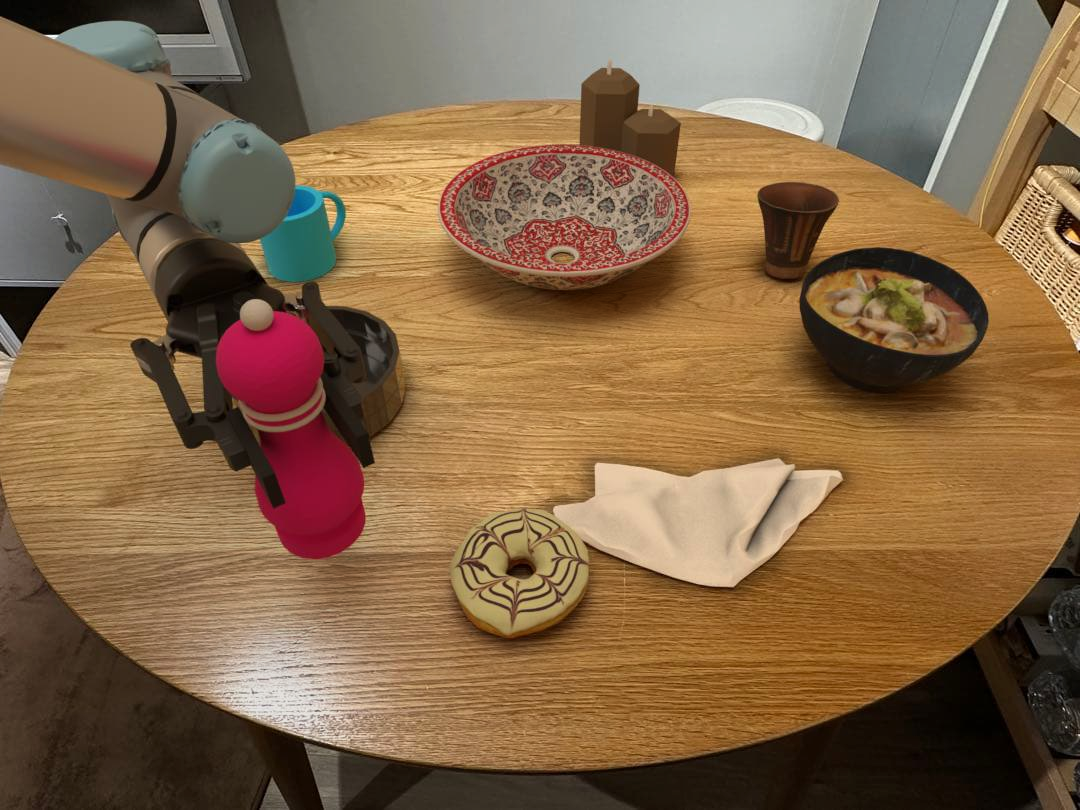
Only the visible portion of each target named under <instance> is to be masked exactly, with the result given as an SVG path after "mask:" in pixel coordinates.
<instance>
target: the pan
mask: <svg viewBox="0 0 1080 810" xmlns="http://www.w3.org/2000/svg"><path fill="white" fill-rule="evenodd" d="M326 307H327V308H328V309H329V310H330V311H331V313H332V314H333V315H334V316H335V318H336V319H337V320H338V321H339V323H340V324H341V325H342V326H343V327H344V329H345V330H346V331H347V332H348V334H349V335H350V336H351V337H352V339H353V340H354V341H355V342H356V343H357V345H358V346H359V347H360V349H361V353H362V358H363V363H364V368H365V373H366V379H365V380H364V381H363V382H361V383H352V385H353V386H354V388H355V389H356V390H357V392H358V393H359V395H360V396H361V399H362V404H363V408H364V414H365V418H364V419H361V420H360V422H361V423H362V425H363V426H364V427H365V429H366V430H367V432H368V434H369V439H371V437H372V436H374V435H375V434H377V432H379V431H380V430H382V429H383V428H384V427H386V426H387V425H388V424H389V423H390V422H391V421H392V419H393V418H394V417H395V415H396V414H397V412H398V411H399V410H400V408H401V407H402V405H403V400H404V396H405V392H406V388H407V386H406V380H405V374H404V368H403V363H402V362H403V361H402V355H401V351H400V346H399V342H398V338H397V334H396V332H394V330H393V329H392V327H390V325H388V324H387V322H386V321H385V320H383V319H382V318H380V317H378V316H376V315H374V314H373V313H371V312H369V311H367V310H363V309H360V308H359V309H358V308H354V307H350V306H346V305H326ZM288 314H291V315H293V316H296V315H295V314H294V313H291V312H288ZM296 317H297V316H296ZM308 325H309V323H308ZM309 326H310V325H309ZM320 344H321V343H320ZM321 346H322V349H323V351H324V352H325V353H327V354H328V355H329V353H328V352H327V351H326V349H325V348H324V347H323V345H322V344H321ZM232 401H233V409H234V408H236V407H239V409H240V411H241V412H242V409H241V407H240V405H239V401H238V399H237V398H236V397H234V396H233V395H232ZM242 414H243V412H242ZM322 414H323V416H324V419H325V421H326V424H327V425H328V427H329V429H330V430H331V431H332V432H333V433H334V434H335V435H336V436H337V437H338V438H339V439H340V440H342V441H343V442H344V443H345V444H346V445H347V446H348V447H349V445H348V444H347V442H346V441H345V439H344V438H343V436H342V435H341V433H340V432H339V430H338V429H337V427H336V426H335V424H334V423H333V421H332V420H331V418H330V417H329V415H328V414H327V412H326V411H325V409H324V408H323V409H322ZM247 423H248V422H247ZM248 425H249V427H250V429H251V430H252V432H253V434H254V436H255V438H256V440H257V441H258V443H259V445H260V437H259V433H258V429H256V428H254V427H252V426H251V425H250V424H249V423H248ZM349 448H350V447H349Z"/></svg>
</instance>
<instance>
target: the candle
mask: <svg viewBox="0 0 1080 810" xmlns="http://www.w3.org/2000/svg"><path fill="white" fill-rule="evenodd" d="M612 65H613V59H612V57H610V58H608V61H607V66H606V67H601V68H599V69H597V70H596V71H594V72H592V73H591V74H590V75H589V76H588V77H587V78H585V80H584V81H583V82H581V85H580V86H581V87H580V88H581V89H580V113H579V114H580V117H579V143H578V145H582V146H592V147H600V148H605V149H610V150H615V151H619V152H623V153H626V154H630V155H633V156H636V157H638V158H641V159H643V160H646V161H648V162H650V163H652V164H654V165H656V166H658V167H659V168H661V169H663V170H664V171H666V172H667V173H668V174H670V175H671V176H672V177H673V178H675V173H676V164H677V156H678V149H679V140H680V133H681V125H682V123H681V122H680V120H678V119H676V118H675V117H674V116H672V115H670V114H669V113H667V112H666V111H664V110H663V109H661V108H654V105H650V106H649V108H641V109H638V108H639V98H640V97H639V96H640V88H641V87H640V83H639V82H638V81H637V79H636V78H634V76H633V75H631V74H630V73H628V72H627V71H625V70H624V69H623V68H621V67H612Z"/></svg>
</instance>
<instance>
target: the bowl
mask: <svg viewBox="0 0 1080 810" xmlns="http://www.w3.org/2000/svg"><path fill="white" fill-rule="evenodd" d="M798 300H799V301H798V302H799V303H798V304H799V312H800V313H799V314H800V318H801V322H802V327H803V329H804V331H805V332H806V335H807V337H808V339H809V340H810V342H811V344H812V345H813V347H814V348H815V349H816V350H817V352H818V353H819V354H820V356H821V357H822V358H823V359H824V360H825V363H826V364H827V367H828V369H829V371H830V372H831V373H832V374H833V375H834V376H835V377H836V378H837V379H839V380H840V381H842V382H843V383H845V384H847V385H849V386H851V387H852V388H854V389H858V390H861V391H865V392H872V393H891V392H894V391H898V390H900V389H902V388H903V387H905V386H909V385H910V386H911V385H915V384H916V385H918V384H921V383H924V382H927V381H930V380H933V379H936V378H938V377H941V376H943V375H945V374H948V373H949V372H951V371H953V370H954V369H956V368H957V367H959V366H961V364H963V363H964V362H965V361H967V360H968V358H970V357H972V355H973V354H974V353H975V352H976V350H977V348H978V347H979V346H980V345H981V343H982V342H983V340H984V338H985V335H986V334H987V332H988V329H989V328H988V327H989V320H990V319H989V311H988V307H987V305H986V302H985V301H984V298H983V297H982V295H981V294H980V292H979V291H978V290H977V289H976V288H975V286H974V285H973V284H972V282H971V281H969V279H967V278H966V277H964V276H963V275H962V274H961V273H960V272H958V271H957V270H955V269H954V268H952V267H950V266H948V265H946V264H945V263H942V262H940V261H938V260H935V259H933V258H931V257H929V256H926V255H922V254H920V253H917V252H914V251H909V250H905V249H900V248H893V247H882V246H881V247H880V246H875V247H862V248H854V249H849V250H846V251H845V250H844V251H843V252H838V253H836V254H833V255H831V256H829V257H827V258H825V259H823V260H821V261H820V262H818V263H817V264H816V265H814V266H813V267H812V268H811V269H810V270H809V271H808V272H807V274H806V276H805V277H804V279H803V282H802V283H801V289H800V294H799V299H798Z"/></svg>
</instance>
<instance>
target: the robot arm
mask: <svg viewBox="0 0 1080 810" xmlns="http://www.w3.org/2000/svg"><path fill="white" fill-rule="evenodd" d="M171 65H172V64H171V60H170V59H169V58H168V57H167V55H166V53H165V50H164V48H163V46H162V44H161V40H160V38H159V37H158V34H157V33H156V32H155V31H154V29H152V28H150V27H149V26H147V25H145V24H142V23H139V22H135V21H129V20H107V21H106V20H105V21H98V22H92V23H87V24H82V25H79V26H76V27H72V28H70V29H68V30H65V31H64V32H62V33H60V34H58V35H57V36H56V37H55V38H52V37H50V36H48V35H46V34H43V33H40V32H38V31H37V30H34V29H31V28H28V27H27V26H24V25H21V24H19V23H18V22H15V21H13V20H10V19H7V18H5V17H3V16H0V166H4V167H8V168H11V169H15V170H18V171H22V172H26V173H29V174H33V175H36V176H40V177H44V178H47V179H51V180H54V181H58V182H61V183H64V184H65V183H66V184H68V185H72V186H76V187H79V188H82V189H87V190H91V191H93V192H97V193H102V194H105V195H106V198H107V200H108V202H109V205H110V208H111V214H112V218H113V220H114V222H115V224H116V226H117V230H118V232H119V234H120V235H121V238H122V239H123V241H124V242H125V243H126V244H127V245H128V247H129V249H130V250H131V253H132V254H133V255H134V257H135V259H136V261H137V263H138V265H139V269H140V270H141V273H142V274H143V277H144V279H145V280H146V283H147V284H148V286H149V288H150V290H151V292H152V295H153V296H154V297H155V299H156V302H157V304H158V305H159V307H160V309H161V311H162V313H163V315H164V317H165V319H166V321H167V324H166V327H165V334H164V335H162V336H161V337H159V338H157V339H156V340H153V341H151V340H150V339H149V338H146V337H138V338H136V339H134V340H132V341H131V343H130V344H129V345H130V346H129V347H130V349H131V351H132V353H133V355H134V357H135V360H136V361H137V364H138V366H139V368H140V371H141V373H142V374H143V375H144V376H146V377H147V378H148V379H150V380H151V381H152V382H154V383H156V385H157V387H158V389H159V393H160V395H161V397H162V399H163V402H164V405H165V406H166V409H167V411H168V413H169V416H170V418H171V420H172V423H173V424H174V427H175V428H176V431H177V434H178V435H179V437H180V439H181V442H182V444H183V446H184V448H186V449H188V450H194V449H197V448H199V447H201V446H202V445H203V444H204V443H205V442H215V444H217V446H218V449H219V451H221V453H222V455H223V458H224V459H225V461H226V463H227V465H228V467H229V469H230V470H232V471H234V472H240V471H241V470H244V469H246V468H249V467H251V469H252V471H253V473H254V476H255V475H256V477H257V478H258V480H259V482H260V484H261V486H262V488H263V490H264V492H265V494H266V495H267V497H268V499H269V501H270V503H271V505H272V507H273V509H274V508H276V507H279V506H281V505H283V504H285V503H286V502H285V499H284V497H283V494H282V491H281V488H280V486H279V483H278V480H277V477H276V474H275V472H274V470H273V468H272V467H271V465H270V463H269V461H268V459H267V458H266V456H265V454H264V452H263V450H262V449H261V447H260V444H259V443H258V441H257V440H256V438H255V436H254V434H253V432H252V430H251V429H250V427H249V425H248V423H247V421H246V420H245V418H244V416H243V414H242V412H241V411H240V409H239V407H236V408H234V407H233V401H232V395H231V394H230V393H229V392H228V391H227V390H226V388H225V387H224V385H223V383H222V381H221V380H220V377H219V375H218V370H217V365H216V353H217V347H218V344H219V342H220V340H221V338H222V336H223V335H224V333H225V332H226V330H227V329H229V328H230V327H231V326H232V325H233V324H234V323H236V322H237V321H239V320H240V310H241V307H242V306H243V305H244V304H245V303H246V302H247V301H249V300H252V299H259V300H263V301H265V302H266V303H268V304H269V305H270V306H271V308H272V310H273V311H278V312H284V313H288V312H291V313H294V314H295V315H296V316H297V317H298V318H300V319H301V320H302V321H304V322H305V323H307V324H308V323H309V325H310V328H311V329H312V330H313V331H314V332H315V333H316V335H317V337H318V339H319V341H320V343H321V344H322V345H323V347H324V348H325V349H326V351H327V352H328V353H329V355H328V354H327V353H325V352H324V351H323V356H324V366H323V372H322V374H321V376H320V378H321V380H322V383H323V388H324V391H325V395H326V401H325V405H324V407H323V408H324V409H325V411H326V412H327V414H328V415H329V417H330V418H331V420H332V421H333V423H334V424H335V426H336V427H337V429H338V430H339V432H340V433H341V435H342V436H343V438H344V439H345V441H346V442H347V444H348V445H349V448H350V449H351V451H352V452H353V453H354V455H355V456H356V458H357V459H358V461H359V464H360V466H362V468H363V469H366V468H367V467H370V466H372V465H374V464H376V462H375V458H374V453H373V448H372V443H371V438H369V434H368V432H367V430H366V429H365V427H364V426H363V425H362V423H361V422H360V420H361V419H364V418H365V414H364V408H363V404H362V399H361V396H360V395H359V393H358V392H357V390H356V389H355V388H354V386H353V385H352V383H361V382H363V381H364V380H365V379H366V373H365V368H364V363H363V358H362V353H361V349H360V347H359V346H358V345H357V343H356V342H355V341H354V340H353V339H352V337H351V336H350V335H349V334H348V332H347V331H346V330H345V329H344V327H343V326H342V325H341V324H340V323H339V321H338V320H337V319H336V318H335V316H334V315H333V314H332V313H331V311H330V310H329V309H328V308H327V307H326V306H327V305H326V304H325V303H324V302H323V299H322V295H321V290H320V286H319V284H318V282H316V281H306V282H305V283H303V284H302V285H301V292H296V293H290V294H284V293H283V291H281V290H280V289H279V288H275V287H272V286H270V285H269V284H268V282H267V281H266V279H265V278H264V276H263V275H262V274H261V272H260V270H259V269H258V268H257V266H256V265H255V264H254V263H253V261H252V260H251V258H250V257H249V255H248V254H247V252H246V251H245V250H244V248H243V246H241V244H248V243H251V242H252V243H253V242H256V241H258V240H260V239H261V238H263V237H265V236H267V235H268V234H270V233H271V232H273V231H274V230H275V229H276V228H277V227H278V226H279V225H280V224H281V223H282V221H283V220H284V219H285V217H286V216H287V214H288V212H289V209H290V207H291V205H292V201H293V199H294V195H295V185H296V175H295V170H294V166H293V164H292V161H291V159H290V157H289V155H288V154H287V152H286V151H285V150H284V148H283V147H282V146H281V145H280V144H279V143H278V142H277V141H275V140H274V139H273V138H272V137H270V136H269V135H267V134H266V133H265V132H263V131H262V128H261V127H260V126H258V125H256V124H254V123H253V122H248V121H246V120H244V119H242V118H239V117H238V116H236V115H234V114H233V113H231V112H229V111H227V110H225V109H224V108H222V107H220V106H218V105H217V104H215V103H213V102H212V101H209V100H208V99H206V98H205V97H203V96H202V95H201V94H200V93H198V92H197V91H195V90H193V89H191V88H189V87H188V86H186V85H184V84H183V83H181V82H179V81H177V80H175V79H174V77H173V74H172V69H171V68H172V67H171ZM177 352H178V353H181V354H183V355H186V356H187V355H188V356H192V357H195V358H198V359H201V366H202V367H201V368H202V388H203V389H202V391H203V411H197V412H193V410H192V408H191V406H190V404H189V402H188V400H187V397H186V395H185V393H184V391H183V389H182V386H181V385H180V382H179V380H178V378H177V376H176V373H175V369H176V368H175V366H174V364H175V363H176V361H177V358H176V356H175V354H176V353H177Z"/></svg>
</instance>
